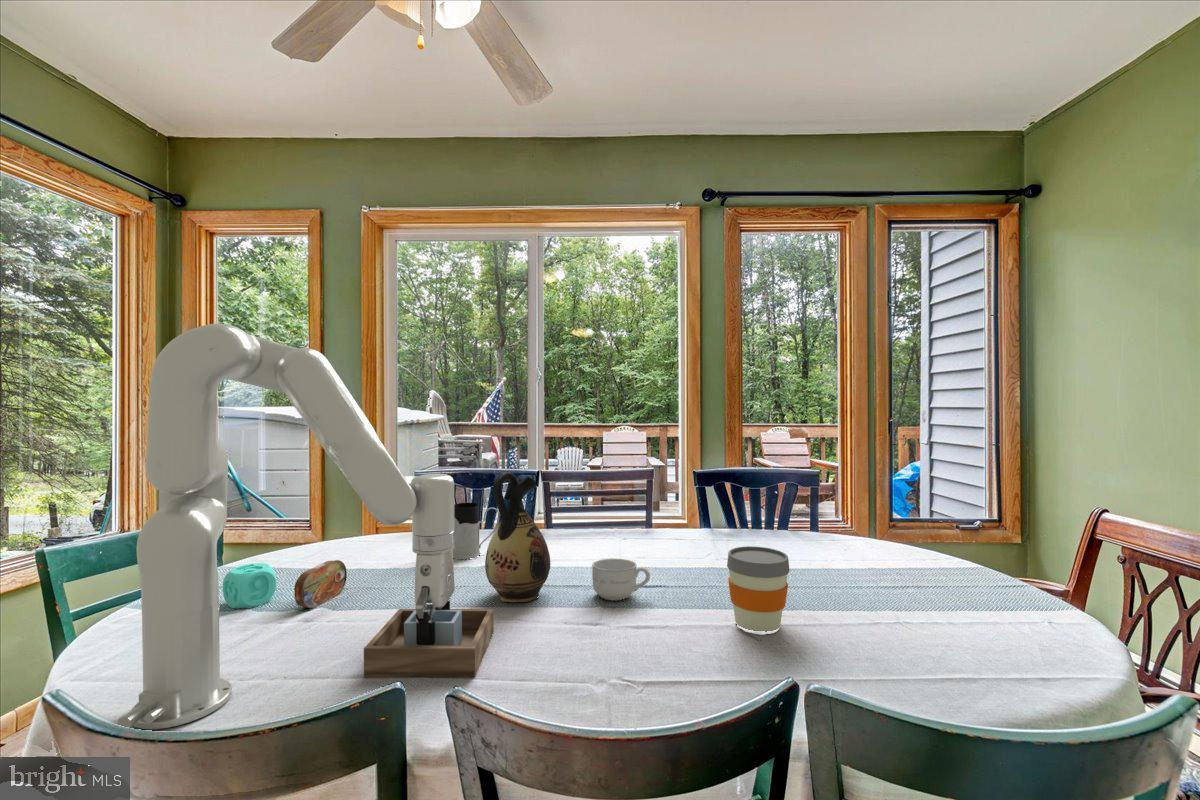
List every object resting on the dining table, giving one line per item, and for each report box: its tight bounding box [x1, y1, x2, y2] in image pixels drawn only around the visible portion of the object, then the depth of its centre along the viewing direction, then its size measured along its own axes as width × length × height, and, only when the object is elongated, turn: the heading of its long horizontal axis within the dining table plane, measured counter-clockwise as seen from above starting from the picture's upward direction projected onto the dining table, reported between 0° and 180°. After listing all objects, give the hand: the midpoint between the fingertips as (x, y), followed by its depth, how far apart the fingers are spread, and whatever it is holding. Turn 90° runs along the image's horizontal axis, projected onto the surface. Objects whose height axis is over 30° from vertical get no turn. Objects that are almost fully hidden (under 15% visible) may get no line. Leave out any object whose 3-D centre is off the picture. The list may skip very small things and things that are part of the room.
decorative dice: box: [222, 562, 277, 609], centre depth 128 cm, size 8×8×8 cm
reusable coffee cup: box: [726, 545, 791, 632], centre depth 115 cm, size 13×13×15 cm
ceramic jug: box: [484, 471, 551, 603], centre depth 131 cm, size 17×15×30 cm
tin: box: [293, 559, 348, 609], centre depth 129 cm, size 15×3×8 cm, turn 168°
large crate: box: [363, 608, 495, 678], centre depth 103 cm, size 17×19×5 cm
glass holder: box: [452, 502, 500, 560], centre depth 165 cm, size 9×14×15 cm, turn 107°
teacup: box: [591, 558, 651, 601], centre depth 131 cm, size 14×11×8 cm
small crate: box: [404, 610, 462, 646], centre depth 103 cm, size 6×9×6 cm, turn 90°
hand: (434, 632), depth 103 cm, fingers open, 9 cm apart
